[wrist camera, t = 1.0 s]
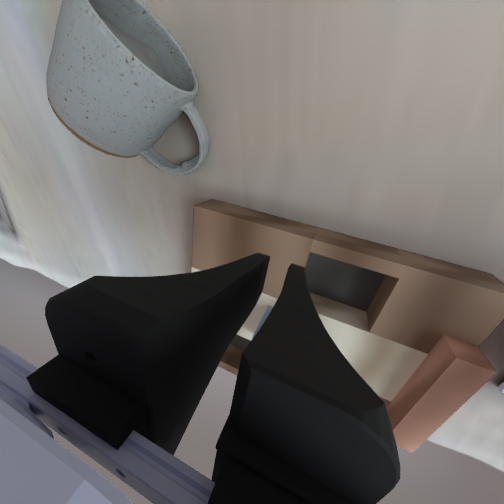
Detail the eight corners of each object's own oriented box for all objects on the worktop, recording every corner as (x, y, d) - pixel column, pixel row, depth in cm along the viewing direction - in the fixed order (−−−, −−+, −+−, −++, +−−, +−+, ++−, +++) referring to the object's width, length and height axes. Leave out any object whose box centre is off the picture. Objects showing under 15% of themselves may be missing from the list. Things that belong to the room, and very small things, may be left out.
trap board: (491, 274, 15) (550, 321, 11) (381, 415, 23) (389, 474, 19) (212, 199, 21) (178, 210, 16) (202, 334, 29) (177, 365, 25)
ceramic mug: (110, 94, 20) (2, 68, 14) (157, 8, 16) (33, -87, 10) (179, 191, 22) (110, 208, 15) (238, 135, 18) (177, 126, 11)
